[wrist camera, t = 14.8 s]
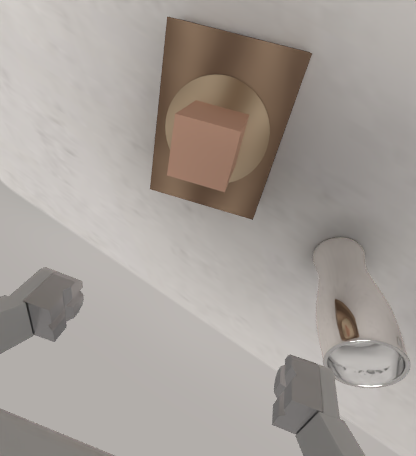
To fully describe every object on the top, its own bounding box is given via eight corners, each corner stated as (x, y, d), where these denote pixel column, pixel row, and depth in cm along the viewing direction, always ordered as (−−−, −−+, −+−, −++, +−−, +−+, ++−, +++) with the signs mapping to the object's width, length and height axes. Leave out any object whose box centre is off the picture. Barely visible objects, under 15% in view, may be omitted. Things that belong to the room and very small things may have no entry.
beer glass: (305, 274, 39) (314, 381, 27) (313, 231, 35) (328, 332, 23) (360, 280, 38) (398, 396, 25) (375, 236, 34) (427, 346, 21)
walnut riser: (308, 52, 26) (312, 53, 22) (255, 202, 35) (252, 221, 31) (181, 19, 27) (165, 16, 23) (162, 175, 36) (148, 190, 32)
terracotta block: (249, 114, 26) (240, 131, 21) (235, 166, 28) (224, 192, 23) (195, 100, 26) (175, 113, 21) (186, 152, 29) (166, 175, 24)
